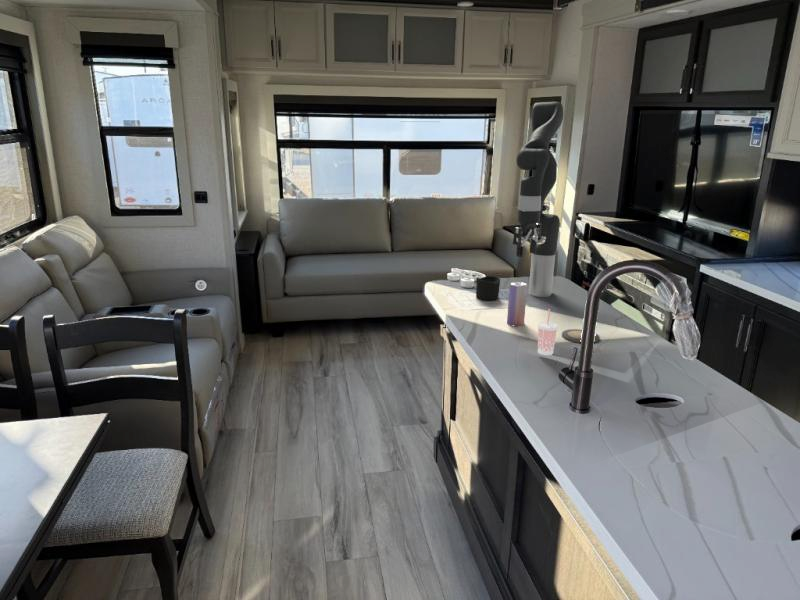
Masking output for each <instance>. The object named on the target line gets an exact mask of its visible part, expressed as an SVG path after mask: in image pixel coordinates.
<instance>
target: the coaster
mask: <svg viewBox="0 0 800 600" xmlns="http://www.w3.org/2000/svg"><path fill="white" fill-rule="evenodd" d="M582 330H583V329H581V328H580V329H578V328H577V329H576V328H575V329H574V328H571V329H566V330H563V331H562V333H561V337H562V338H563V339H565V341H569V342H572V343H578V344H581V343H580V340H581V333H582ZM600 337H601V336H600V335H599V334H598V333H596V336H595V343H599V342H600ZM595 343H594V344H595Z"/></svg>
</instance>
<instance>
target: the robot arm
mask: <svg viewBox="0 0 800 600" xmlns="http://www.w3.org/2000/svg"><path fill="white" fill-rule="evenodd" d="M563 121H564V106H563V104H562V102H560V101H546V102H545V101H542V102H535V103H534V104H533V106H532V110H531V127H532V128H531V130H532V133H531V135H530V137H529V140H528V142H527V143H526V144H524V145H523V146H522V147H521V149H519V151H518V154H517V155H516V166H517V167H518V168H519V169H520V170H523V171H532V172H531V176H528V177H523V178H522V179H521V181H520V186H519V187H520V188H519V189H520V190H519V200H518V206H517V207H518V209H517V222H518V223H519V224H520V225H519V227H518V226H517V227H516V226H515V227H514V230H513V239H512V244H513V245H514V246H516V257H517V258H522V257H523V256H524V245H525V243H526V242H527V241H528V239H529V240H530V242H529V253H530V254H531V257H530V258H531V259H530V271H529V272H530V273H529V284H528V294H529V295H531V296H532V297H538V298H547V297H551V296H552V293H553V292H552V291H553V282H554V273H555V272H554V271H555V270H554V269H555V262H556V261H555V260H556V250H557V248H558V240H559V234H560V227H561V226H560V225H561V222H560V221H561V220H560V217H559V216H558V215H557V214H552V213H543V211H544V210H543V209H544V204H545V201H546V199H547V197H548V195H549V194H550V192H551V191H552V189H553V188H554V186H555V184H556V181H557V177H558V176H557V175H558V174H557V173H558V172H557V171H558V164H557V159H556V158H555V156H554V155H553V153H552V151H551V150H550V148H549V146H550V143H551V141H552V139H553V137H554V136H555V134H556V133H557V131H558V130H559V129H560V127H561V125H562V123H563ZM542 238H545V240H544V242H542V243H540V244H538V242H539V241H541V240H542Z"/></svg>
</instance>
